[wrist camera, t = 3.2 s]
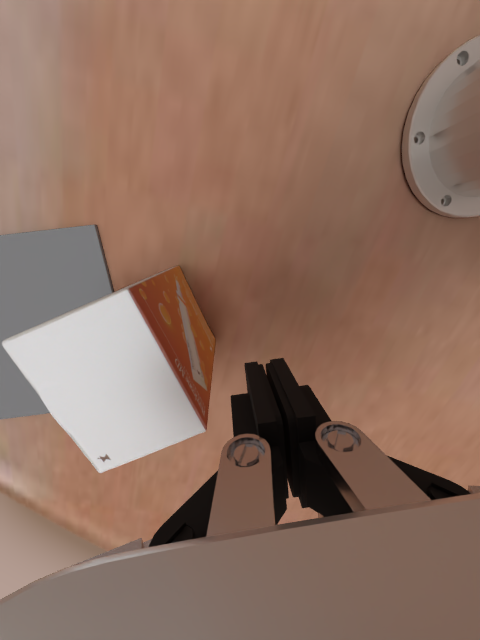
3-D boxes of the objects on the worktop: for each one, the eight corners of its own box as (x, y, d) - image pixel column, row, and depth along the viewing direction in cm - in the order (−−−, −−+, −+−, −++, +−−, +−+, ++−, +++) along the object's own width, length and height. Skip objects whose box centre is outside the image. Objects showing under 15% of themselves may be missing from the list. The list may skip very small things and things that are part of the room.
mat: (96, 225, 22) (94, 224, 21) (141, 399, 27) (140, 401, 26) (-86, 245, 21) (-92, 245, 21) (-6, 417, 26) (-10, 420, 26)
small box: (217, 339, 25) (210, 434, 13) (158, 364, 26) (97, 479, 13) (179, 262, 23) (126, 286, 11) (116, 290, 23) (-8, 345, 11)
